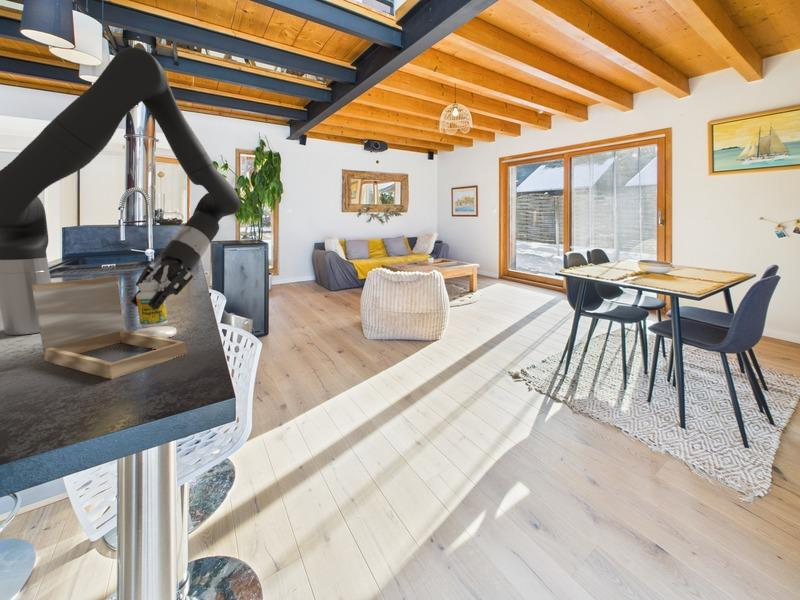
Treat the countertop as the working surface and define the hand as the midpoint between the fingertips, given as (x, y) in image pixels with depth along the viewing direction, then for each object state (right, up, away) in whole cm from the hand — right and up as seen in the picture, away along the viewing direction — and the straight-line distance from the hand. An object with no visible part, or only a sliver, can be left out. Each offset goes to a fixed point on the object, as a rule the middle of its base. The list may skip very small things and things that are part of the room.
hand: (143, 305), depth 83 cm
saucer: (0, -7, +3) cm, 8 cm away
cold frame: (+2, -10, -10) cm, 15 cm away
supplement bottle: (+1, -5, +3) cm, 5 cm away
